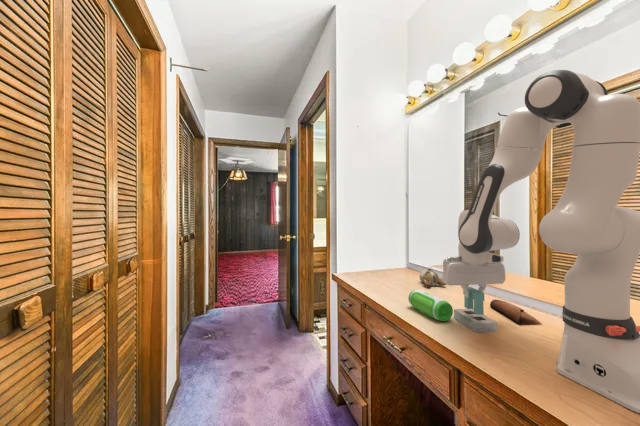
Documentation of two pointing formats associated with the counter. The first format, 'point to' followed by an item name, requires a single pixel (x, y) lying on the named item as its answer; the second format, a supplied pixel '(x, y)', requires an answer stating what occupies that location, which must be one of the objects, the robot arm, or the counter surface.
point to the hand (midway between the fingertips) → (473, 297)
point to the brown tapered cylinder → (514, 313)
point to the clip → (475, 301)
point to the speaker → (431, 305)
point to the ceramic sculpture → (430, 278)
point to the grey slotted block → (475, 321)
